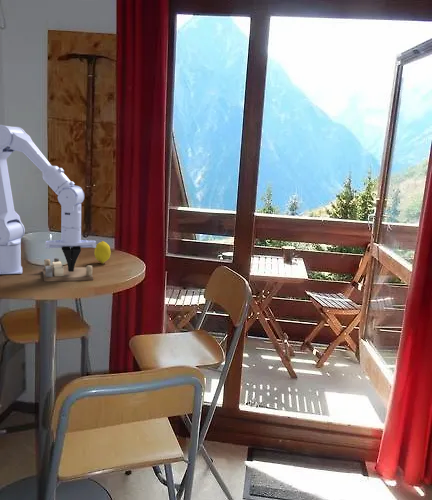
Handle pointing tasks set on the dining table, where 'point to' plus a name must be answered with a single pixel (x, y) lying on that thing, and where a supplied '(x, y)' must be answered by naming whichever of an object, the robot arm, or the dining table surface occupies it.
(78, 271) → the board
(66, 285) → the dining table surface
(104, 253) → the lemon
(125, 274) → the dining table surface
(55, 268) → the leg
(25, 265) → the dining table surface
